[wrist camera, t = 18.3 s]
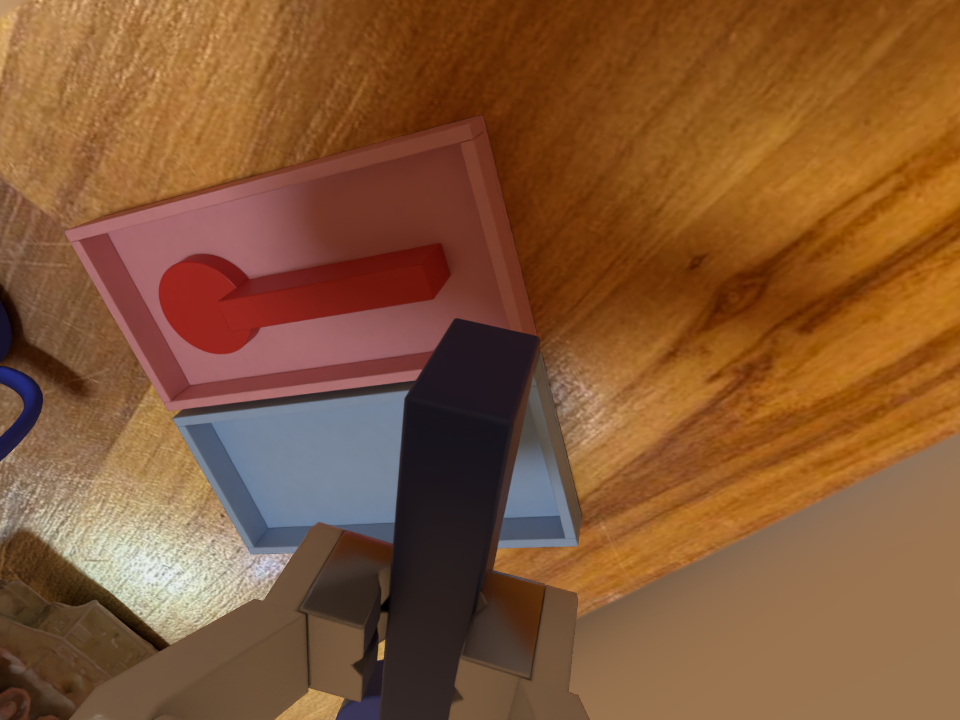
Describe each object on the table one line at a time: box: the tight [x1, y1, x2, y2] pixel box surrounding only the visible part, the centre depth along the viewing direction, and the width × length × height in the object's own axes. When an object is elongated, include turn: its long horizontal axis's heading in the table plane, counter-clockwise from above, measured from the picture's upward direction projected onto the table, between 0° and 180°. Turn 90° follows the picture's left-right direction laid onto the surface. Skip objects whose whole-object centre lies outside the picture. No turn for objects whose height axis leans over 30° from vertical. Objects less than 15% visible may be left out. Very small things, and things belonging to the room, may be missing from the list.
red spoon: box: [159, 243, 451, 354], centre depth 24 cm, size 13×4×2 cm, turn 105°
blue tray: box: [173, 352, 582, 554], centre depth 29 cm, size 9×18×2 cm, turn 105°
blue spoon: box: [336, 318, 540, 720], centre depth 12 cm, size 13×4×2 cm, turn 173°
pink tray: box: [64, 115, 537, 411], centre depth 25 cm, size 9×18×2 cm, turn 105°
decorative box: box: [0, 579, 159, 720], centre depth 41 cm, size 13×20×10 cm, turn 30°
